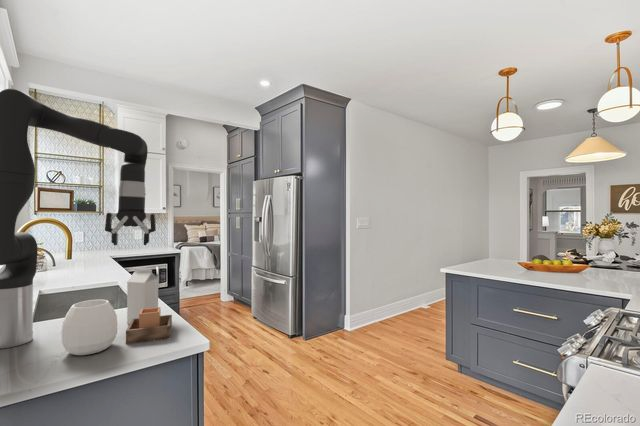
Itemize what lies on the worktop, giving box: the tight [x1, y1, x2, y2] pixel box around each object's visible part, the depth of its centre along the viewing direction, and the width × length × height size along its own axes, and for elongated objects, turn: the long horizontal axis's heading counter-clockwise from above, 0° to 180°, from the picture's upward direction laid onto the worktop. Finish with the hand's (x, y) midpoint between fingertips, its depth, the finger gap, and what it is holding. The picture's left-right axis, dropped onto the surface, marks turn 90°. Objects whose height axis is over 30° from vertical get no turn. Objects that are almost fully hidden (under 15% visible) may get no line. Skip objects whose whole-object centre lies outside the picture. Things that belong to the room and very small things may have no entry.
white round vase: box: [61, 299, 118, 356], centre depth 94 cm, size 13×13×14 cm
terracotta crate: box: [139, 306, 162, 329], centre depth 106 cm, size 6×6×7 cm
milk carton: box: [126, 268, 159, 325], centre depth 119 cm, size 7×7×19 cm
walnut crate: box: [125, 314, 173, 345], centre depth 106 cm, size 12×12×4 cm
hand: (130, 244), depth 108 cm, fingers open, 8 cm apart
